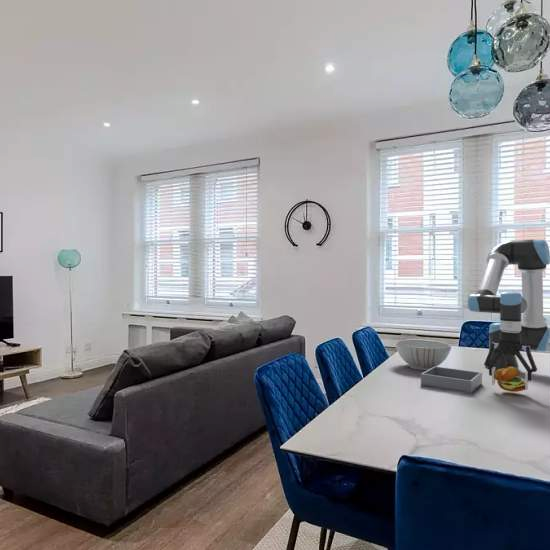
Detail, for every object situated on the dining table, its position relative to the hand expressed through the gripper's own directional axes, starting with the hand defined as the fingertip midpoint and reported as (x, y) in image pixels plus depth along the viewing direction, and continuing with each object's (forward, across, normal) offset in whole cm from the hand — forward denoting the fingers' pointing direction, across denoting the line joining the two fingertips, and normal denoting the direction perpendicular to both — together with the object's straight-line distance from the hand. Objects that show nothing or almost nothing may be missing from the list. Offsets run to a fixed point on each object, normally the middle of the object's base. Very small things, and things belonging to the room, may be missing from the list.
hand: (509, 386), depth 176 cm
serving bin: (+3, -22, 0) cm, 22 cm away
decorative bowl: (+3, -43, +27) cm, 51 cm away
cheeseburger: (+1, 0, 0) cm, 1 cm away
